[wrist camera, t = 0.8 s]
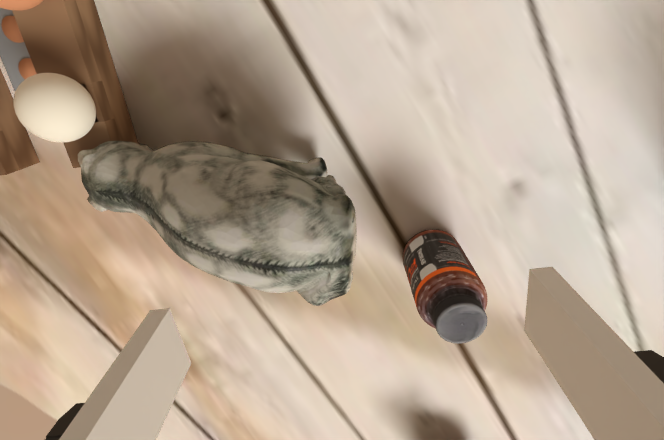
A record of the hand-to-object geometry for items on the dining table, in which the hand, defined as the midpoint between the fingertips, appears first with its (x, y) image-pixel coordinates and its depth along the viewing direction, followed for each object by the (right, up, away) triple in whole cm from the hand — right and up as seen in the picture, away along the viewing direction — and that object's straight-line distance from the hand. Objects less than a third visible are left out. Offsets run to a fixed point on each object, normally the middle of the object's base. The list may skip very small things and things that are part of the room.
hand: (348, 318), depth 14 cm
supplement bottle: (+10, 0, +26) cm, 28 cm away
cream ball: (-21, +12, +14) cm, 28 cm away
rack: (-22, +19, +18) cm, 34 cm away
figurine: (-9, +8, +23) cm, 25 cm away
